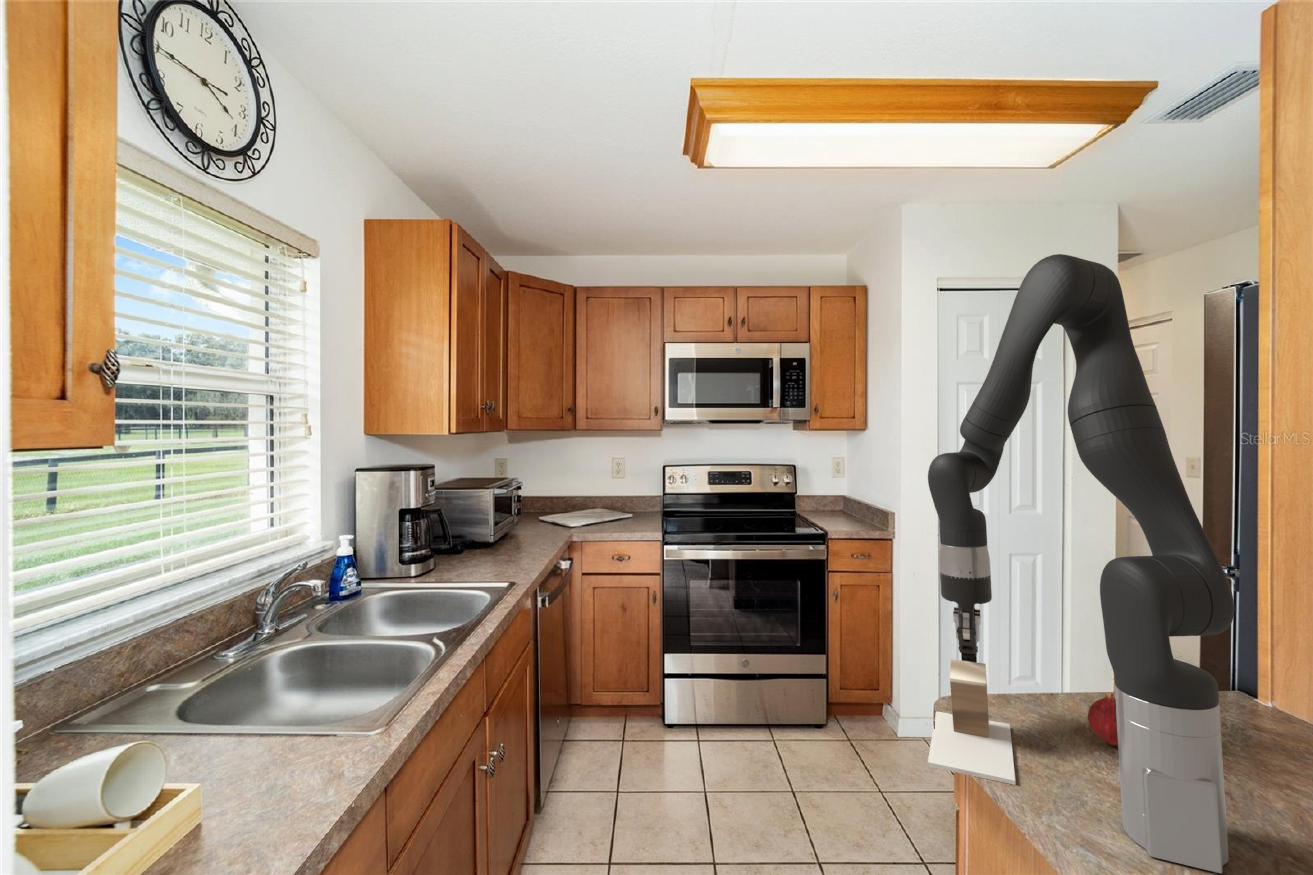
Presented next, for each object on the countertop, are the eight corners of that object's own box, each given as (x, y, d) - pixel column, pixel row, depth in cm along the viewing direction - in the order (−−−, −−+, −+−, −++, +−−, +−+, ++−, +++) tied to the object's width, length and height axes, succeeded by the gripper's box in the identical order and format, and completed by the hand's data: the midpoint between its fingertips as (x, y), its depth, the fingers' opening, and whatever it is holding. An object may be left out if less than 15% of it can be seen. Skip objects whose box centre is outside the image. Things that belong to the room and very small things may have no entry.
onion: (1144, 758, 84) (1141, 703, 85) (1098, 753, 86) (1095, 699, 86) (1126, 738, 90) (1124, 687, 90) (1083, 734, 92) (1080, 684, 92)
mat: (1015, 785, 79) (1015, 780, 79) (927, 766, 85) (927, 762, 85) (1009, 727, 95) (1009, 724, 95) (936, 714, 100) (936, 711, 100)
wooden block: (989, 738, 91) (986, 683, 88) (953, 731, 93) (949, 678, 91) (988, 716, 95) (985, 663, 93) (954, 710, 97) (950, 659, 95)
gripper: (990, 581, 88) (996, 694, 88) (990, 564, 100) (995, 664, 100) (936, 577, 92) (942, 686, 92) (942, 561, 104) (947, 657, 103)
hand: (969, 674), depth 96 cm, fingers closed
